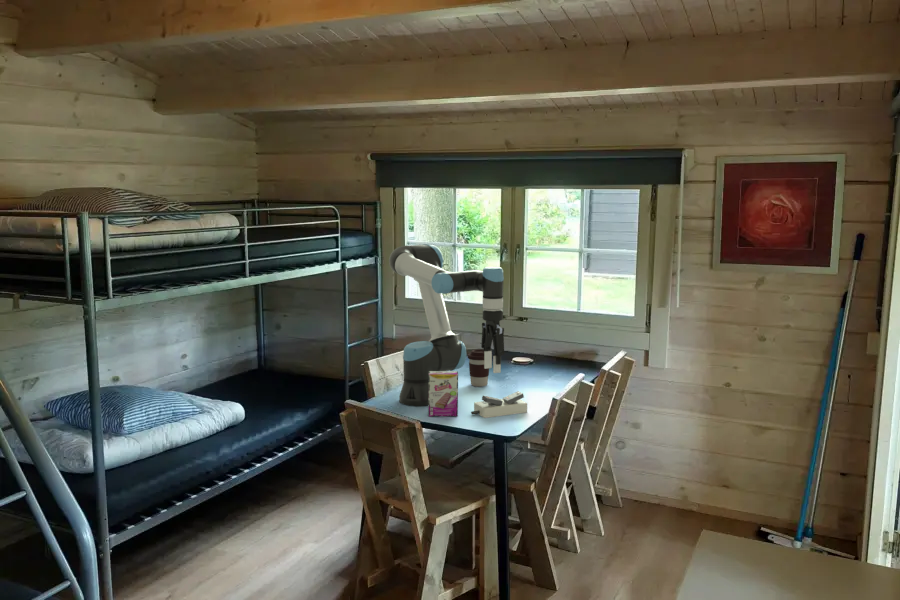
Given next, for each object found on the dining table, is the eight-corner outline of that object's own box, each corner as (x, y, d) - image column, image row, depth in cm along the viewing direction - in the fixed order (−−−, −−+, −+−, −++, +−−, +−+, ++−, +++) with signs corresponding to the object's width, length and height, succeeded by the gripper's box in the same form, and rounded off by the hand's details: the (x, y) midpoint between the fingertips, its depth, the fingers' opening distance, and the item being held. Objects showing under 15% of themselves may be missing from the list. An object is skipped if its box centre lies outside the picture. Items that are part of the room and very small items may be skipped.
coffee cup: (488, 388, 311) (489, 353, 309) (465, 387, 313) (465, 352, 311) (492, 382, 321) (492, 348, 318) (469, 381, 323) (469, 348, 320)
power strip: (477, 419, 269) (477, 407, 268) (466, 412, 277) (466, 401, 276) (527, 412, 277) (527, 401, 276) (515, 405, 285) (516, 395, 285)
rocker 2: (508, 404, 274) (507, 400, 274) (504, 401, 278) (502, 397, 277) (524, 397, 277) (522, 393, 276) (519, 394, 280) (518, 390, 280)
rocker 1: (485, 402, 270) (487, 397, 270) (481, 399, 274) (482, 394, 274) (501, 405, 273) (502, 400, 273) (497, 402, 277) (498, 398, 277)
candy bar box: (428, 417, 271) (428, 374, 269) (428, 413, 276) (428, 370, 274) (458, 416, 272) (458, 373, 269) (457, 412, 277) (457, 370, 274)
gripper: (514, 312, 261) (513, 375, 264) (490, 304, 279) (489, 363, 282) (495, 314, 258) (495, 377, 261) (472, 306, 276) (472, 365, 279)
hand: (492, 370), depth 272 cm, fingers open, 7 cm apart
